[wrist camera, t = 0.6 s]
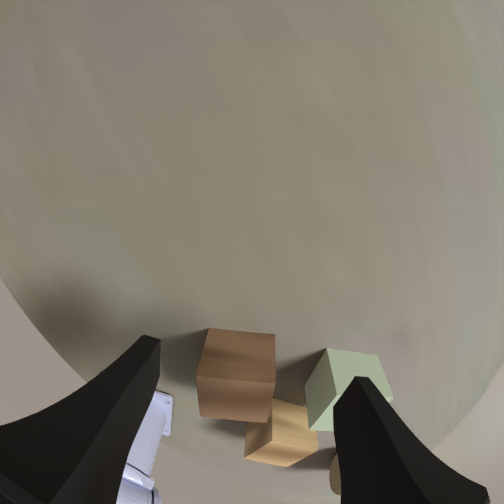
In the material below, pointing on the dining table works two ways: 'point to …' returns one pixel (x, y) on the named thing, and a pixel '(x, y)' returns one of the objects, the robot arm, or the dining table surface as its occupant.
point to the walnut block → (236, 375)
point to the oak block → (281, 436)
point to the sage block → (339, 383)
